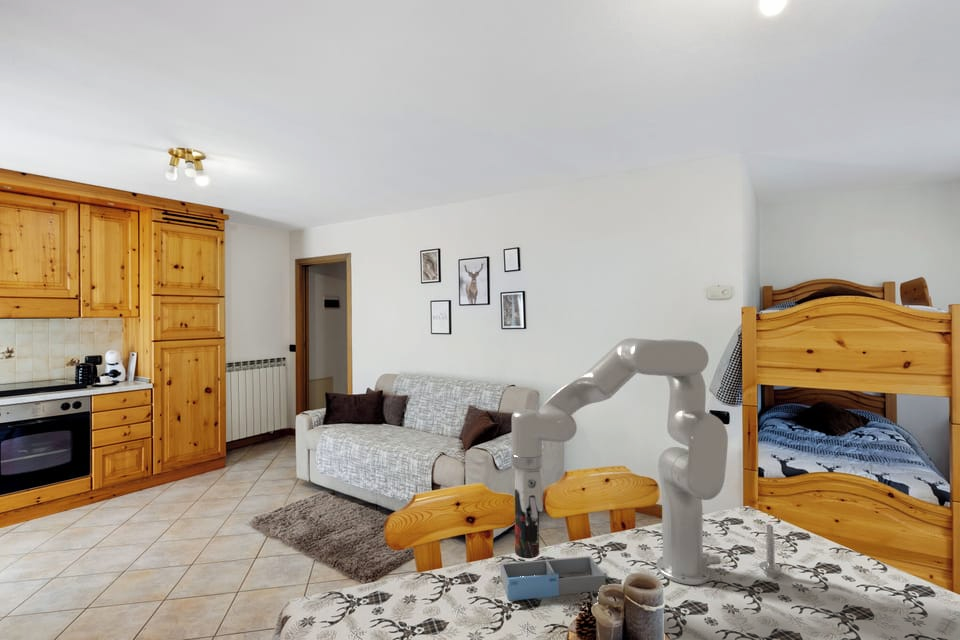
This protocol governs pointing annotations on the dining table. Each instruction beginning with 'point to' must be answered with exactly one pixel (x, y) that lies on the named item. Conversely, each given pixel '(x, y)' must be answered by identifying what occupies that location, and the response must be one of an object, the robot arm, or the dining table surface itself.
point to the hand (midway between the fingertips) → (527, 533)
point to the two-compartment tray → (549, 577)
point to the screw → (770, 556)
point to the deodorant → (521, 546)
